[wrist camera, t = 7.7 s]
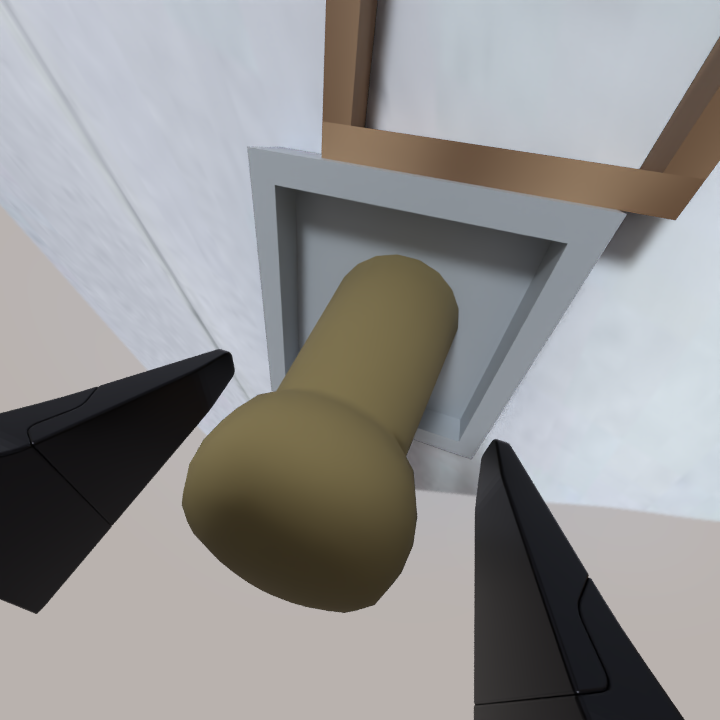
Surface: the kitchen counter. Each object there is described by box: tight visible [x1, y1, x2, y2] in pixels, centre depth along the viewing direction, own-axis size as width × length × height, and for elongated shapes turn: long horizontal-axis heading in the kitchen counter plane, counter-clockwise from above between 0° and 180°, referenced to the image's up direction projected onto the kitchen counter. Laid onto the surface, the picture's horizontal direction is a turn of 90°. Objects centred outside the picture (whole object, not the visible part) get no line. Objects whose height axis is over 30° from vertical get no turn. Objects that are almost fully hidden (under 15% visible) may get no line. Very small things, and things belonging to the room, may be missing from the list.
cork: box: [182, 254, 459, 613], centre depth 10 cm, size 6×6×11 cm
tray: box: [247, 147, 627, 459], centre depth 14 cm, size 12×12×2 cm
